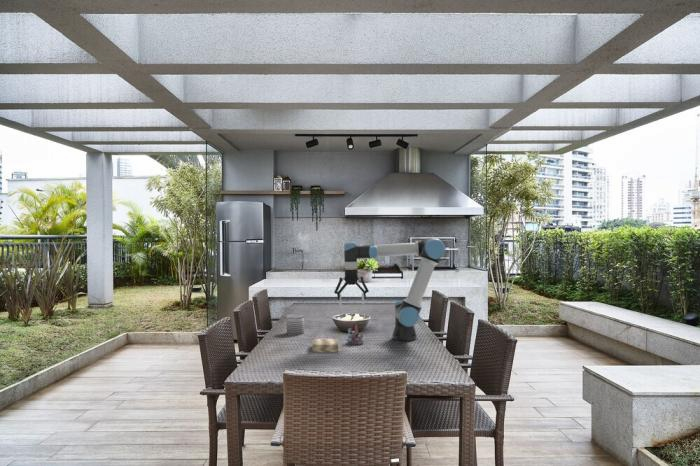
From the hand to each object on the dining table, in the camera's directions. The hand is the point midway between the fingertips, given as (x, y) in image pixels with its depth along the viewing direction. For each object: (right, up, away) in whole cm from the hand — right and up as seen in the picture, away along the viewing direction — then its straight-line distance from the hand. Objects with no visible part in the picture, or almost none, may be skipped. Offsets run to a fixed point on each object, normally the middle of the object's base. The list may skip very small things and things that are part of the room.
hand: (351, 305), depth 282 cm
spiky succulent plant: (+2, -23, 0) cm, 23 cm away
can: (-36, -23, +28) cm, 51 cm away
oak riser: (-15, -23, -14) cm, 30 cm away
